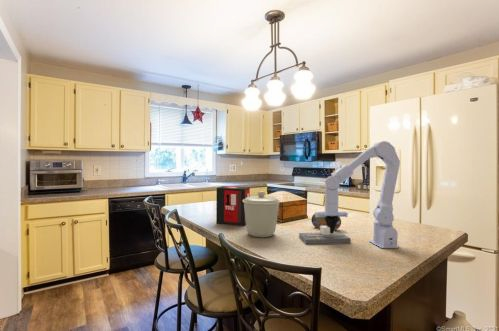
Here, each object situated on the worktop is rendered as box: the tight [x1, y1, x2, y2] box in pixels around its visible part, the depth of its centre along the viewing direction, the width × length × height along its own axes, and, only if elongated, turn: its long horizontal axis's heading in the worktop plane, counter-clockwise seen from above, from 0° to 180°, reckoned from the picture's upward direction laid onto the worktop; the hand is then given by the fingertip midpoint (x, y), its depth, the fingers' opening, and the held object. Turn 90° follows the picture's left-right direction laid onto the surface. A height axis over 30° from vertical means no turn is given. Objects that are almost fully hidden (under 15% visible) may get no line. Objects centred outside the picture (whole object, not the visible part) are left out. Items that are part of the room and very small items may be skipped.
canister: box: [242, 190, 281, 238], centre depth 128 cm, size 18×18×21 cm
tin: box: [310, 213, 342, 231], centre depth 140 cm, size 15×3×8 cm, turn 62°
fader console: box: [298, 231, 352, 245], centre depth 120 cm, size 10×20×3 cm, turn 97°
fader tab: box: [319, 226, 330, 235], centre depth 120 cm, size 4×3×4 cm
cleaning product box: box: [215, 185, 251, 227], centre depth 150 cm, size 16×9×20 cm, turn 73°
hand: (331, 232), depth 121 cm, fingers closed
